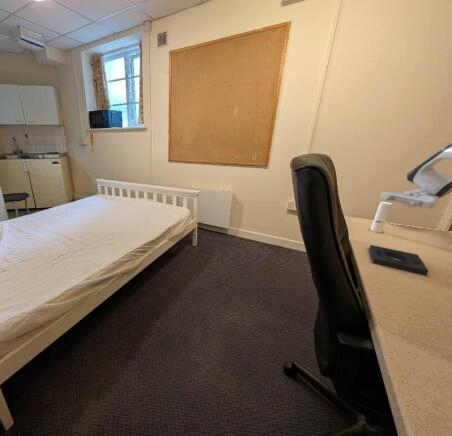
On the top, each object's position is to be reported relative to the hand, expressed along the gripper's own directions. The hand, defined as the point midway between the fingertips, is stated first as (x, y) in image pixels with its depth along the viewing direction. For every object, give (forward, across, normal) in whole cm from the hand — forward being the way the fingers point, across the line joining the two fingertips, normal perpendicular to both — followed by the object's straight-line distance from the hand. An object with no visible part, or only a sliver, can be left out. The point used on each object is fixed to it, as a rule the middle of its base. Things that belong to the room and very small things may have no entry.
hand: (398, 201), depth 113 cm
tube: (+12, 0, +15) cm, 19 cm away
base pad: (+41, +20, +14) cm, 48 cm away
